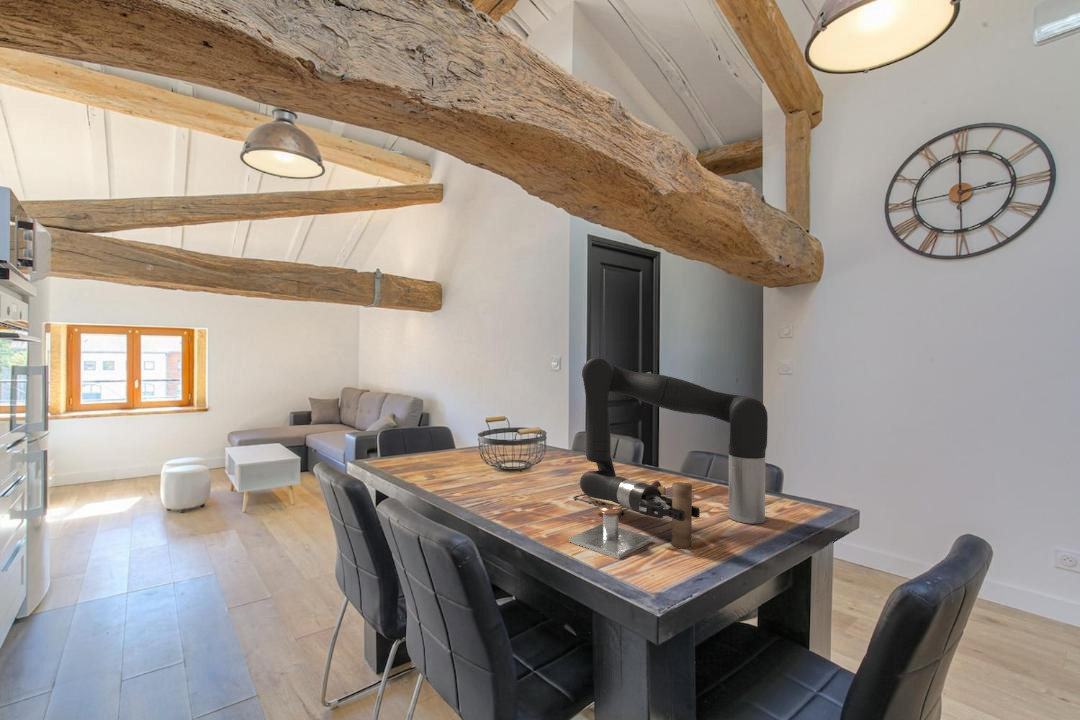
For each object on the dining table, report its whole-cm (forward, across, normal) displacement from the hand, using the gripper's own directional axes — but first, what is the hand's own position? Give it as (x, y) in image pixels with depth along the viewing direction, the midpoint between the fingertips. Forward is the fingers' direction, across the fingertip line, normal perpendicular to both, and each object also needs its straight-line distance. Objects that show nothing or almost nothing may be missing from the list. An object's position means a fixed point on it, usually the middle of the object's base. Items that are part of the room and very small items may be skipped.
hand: (691, 514), depth 110 cm
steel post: (-13, -13, +8) cm, 20 cm away
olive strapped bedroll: (-39, +28, +8) cm, 49 cm away
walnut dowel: (-3, 0, +8) cm, 8 cm away
